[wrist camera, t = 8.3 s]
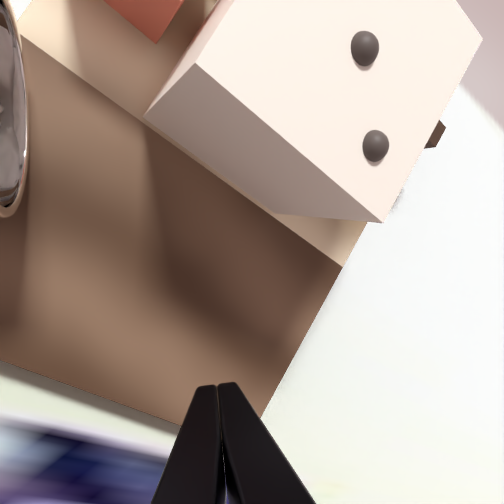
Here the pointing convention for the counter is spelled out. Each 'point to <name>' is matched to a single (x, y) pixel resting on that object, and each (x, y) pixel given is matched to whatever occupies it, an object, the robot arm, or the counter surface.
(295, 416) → the counter surface
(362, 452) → the counter surface
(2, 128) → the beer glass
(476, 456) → the counter surface
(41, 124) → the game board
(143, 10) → the terracotta die
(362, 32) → the ivory die
